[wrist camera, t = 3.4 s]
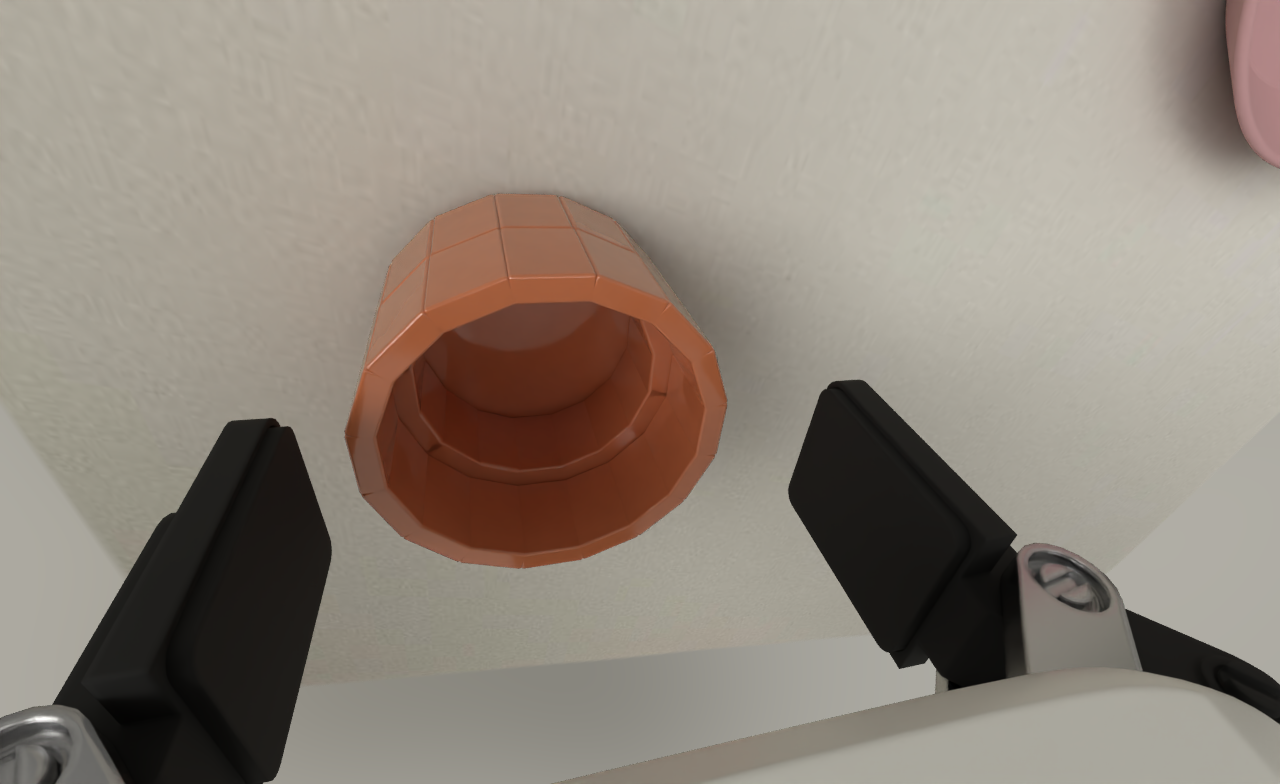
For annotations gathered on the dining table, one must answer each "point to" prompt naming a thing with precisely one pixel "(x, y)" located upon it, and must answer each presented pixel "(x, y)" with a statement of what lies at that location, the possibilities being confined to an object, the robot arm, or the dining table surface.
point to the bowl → (530, 387)
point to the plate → (1256, 72)
